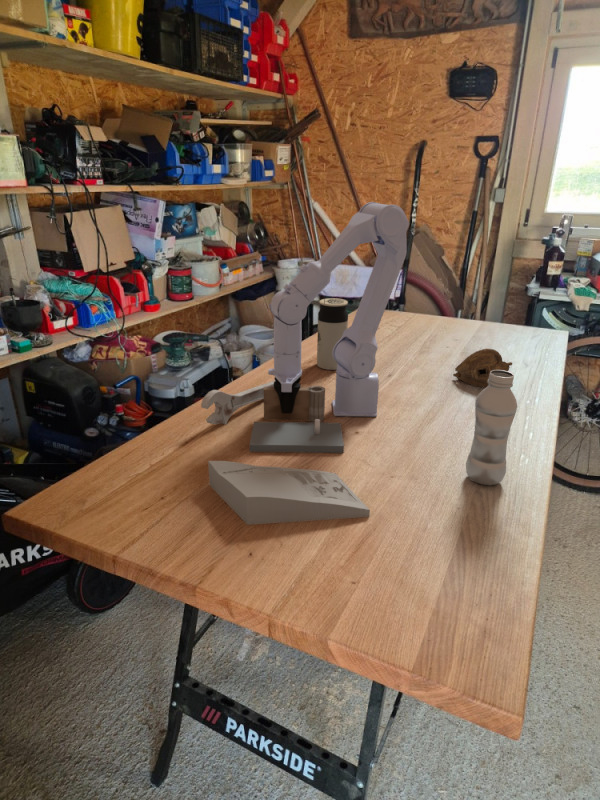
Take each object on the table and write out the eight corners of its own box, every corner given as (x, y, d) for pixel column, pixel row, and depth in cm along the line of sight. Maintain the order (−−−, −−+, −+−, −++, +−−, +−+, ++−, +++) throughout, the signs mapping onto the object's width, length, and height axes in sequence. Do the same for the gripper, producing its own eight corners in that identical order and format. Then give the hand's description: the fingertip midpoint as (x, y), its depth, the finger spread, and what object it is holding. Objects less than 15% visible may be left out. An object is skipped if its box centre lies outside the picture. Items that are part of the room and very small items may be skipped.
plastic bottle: (498, 494, 89) (520, 384, 81) (458, 482, 92) (475, 375, 84) (507, 477, 94) (528, 371, 86) (469, 466, 97) (485, 364, 89)
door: (263, 421, 113) (263, 391, 111) (264, 414, 117) (264, 385, 114) (324, 422, 113) (325, 392, 111) (323, 415, 117) (324, 385, 114)
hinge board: (340, 429, 111) (341, 409, 109) (343, 452, 101) (344, 431, 100) (254, 428, 111) (253, 408, 109) (249, 451, 101) (249, 430, 100)
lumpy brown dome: (444, 360, 133) (506, 347, 125) (461, 334, 153) (516, 322, 145) (454, 396, 136) (515, 386, 128) (470, 366, 156) (524, 356, 148)
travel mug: (346, 362, 149) (350, 298, 142) (344, 371, 142) (347, 305, 135) (318, 360, 150) (320, 297, 143) (314, 369, 143) (316, 304, 136)
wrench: (287, 400, 132) (206, 433, 107) (281, 398, 133) (200, 431, 108) (290, 368, 129) (207, 395, 105) (283, 367, 130) (200, 393, 106)
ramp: (377, 490, 91) (379, 462, 88) (363, 548, 77) (365, 517, 74) (225, 466, 97) (223, 440, 95) (186, 516, 83) (183, 487, 81)
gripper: (270, 339, 116) (270, 396, 121) (265, 361, 102) (266, 424, 108) (302, 340, 116) (301, 397, 121) (302, 362, 102) (301, 425, 108)
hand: (287, 410), depth 114 cm, fingers closed on door, 2 cm apart
